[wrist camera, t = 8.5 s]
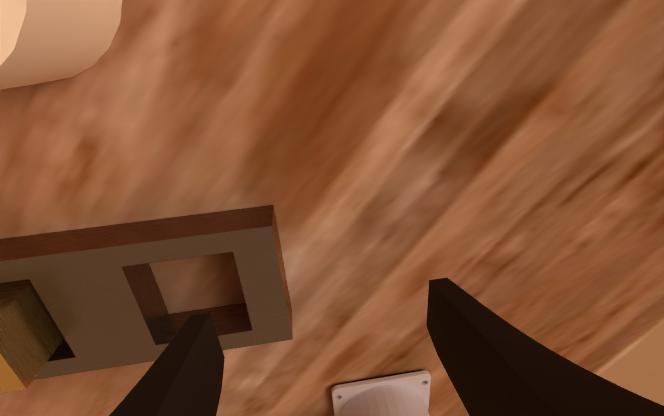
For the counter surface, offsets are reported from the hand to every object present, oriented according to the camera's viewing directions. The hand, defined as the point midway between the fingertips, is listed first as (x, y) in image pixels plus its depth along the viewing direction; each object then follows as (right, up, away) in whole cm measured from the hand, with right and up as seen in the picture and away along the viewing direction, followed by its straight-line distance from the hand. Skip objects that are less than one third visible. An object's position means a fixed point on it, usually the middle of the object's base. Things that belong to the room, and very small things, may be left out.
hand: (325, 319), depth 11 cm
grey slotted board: (-14, -1, +9) cm, 17 cm away
